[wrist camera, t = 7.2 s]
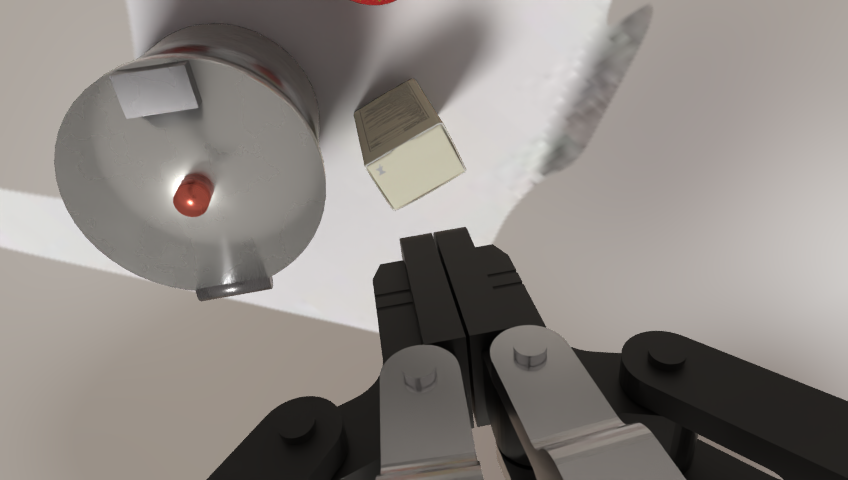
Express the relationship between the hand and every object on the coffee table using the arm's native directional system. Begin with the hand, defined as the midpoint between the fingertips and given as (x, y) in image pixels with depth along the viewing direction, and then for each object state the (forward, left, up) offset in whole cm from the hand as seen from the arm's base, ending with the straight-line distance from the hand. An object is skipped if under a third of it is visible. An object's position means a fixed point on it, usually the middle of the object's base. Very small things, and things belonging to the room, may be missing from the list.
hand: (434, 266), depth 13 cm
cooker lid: (+7, -12, -25) cm, 28 cm away
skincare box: (+9, +2, -37) cm, 38 cm away
